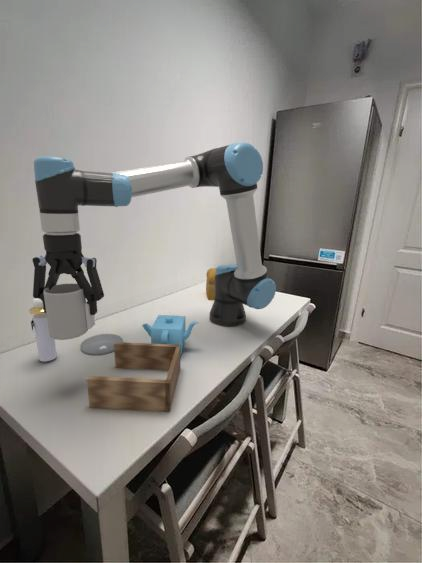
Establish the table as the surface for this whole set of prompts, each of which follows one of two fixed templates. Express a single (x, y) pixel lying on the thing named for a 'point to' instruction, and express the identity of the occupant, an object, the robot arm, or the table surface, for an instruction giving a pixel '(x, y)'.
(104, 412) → the table surface
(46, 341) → the perfume bottle
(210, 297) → the bread
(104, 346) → the grey saucer
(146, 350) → the three-sided wooden frame
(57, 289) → the mug
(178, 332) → the teapot
